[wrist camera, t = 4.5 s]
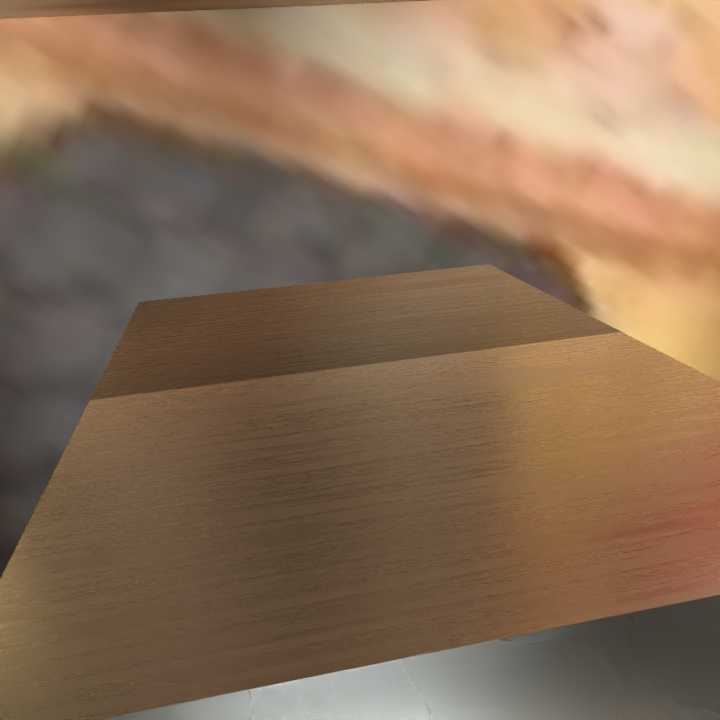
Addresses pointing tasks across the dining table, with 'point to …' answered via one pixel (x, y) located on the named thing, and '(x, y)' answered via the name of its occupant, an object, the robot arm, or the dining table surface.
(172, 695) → the housing
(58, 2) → the stand
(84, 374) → the dining table surface
